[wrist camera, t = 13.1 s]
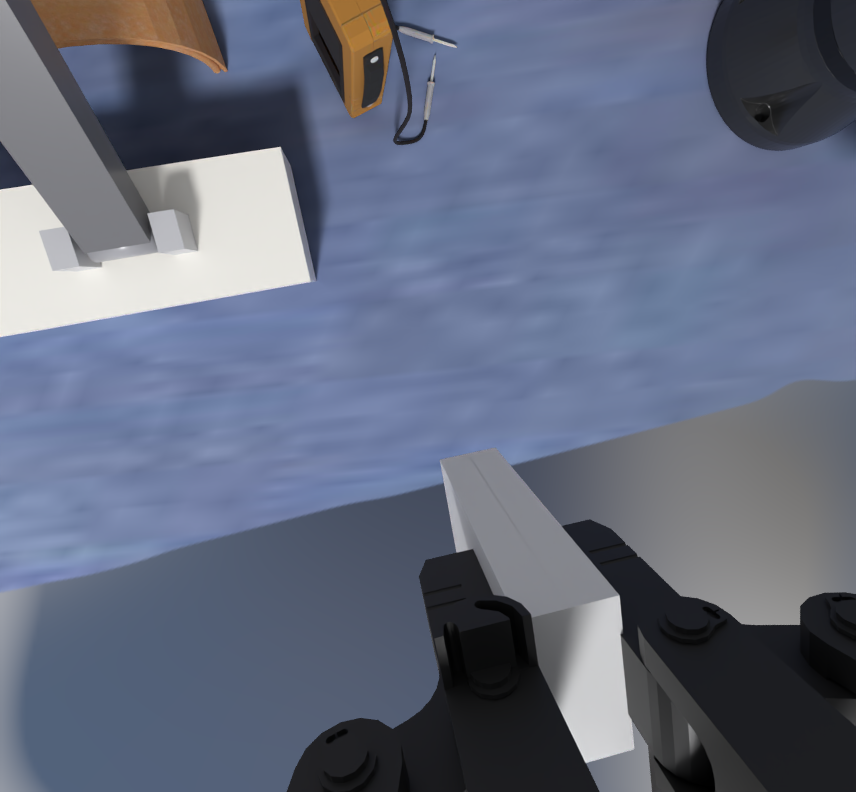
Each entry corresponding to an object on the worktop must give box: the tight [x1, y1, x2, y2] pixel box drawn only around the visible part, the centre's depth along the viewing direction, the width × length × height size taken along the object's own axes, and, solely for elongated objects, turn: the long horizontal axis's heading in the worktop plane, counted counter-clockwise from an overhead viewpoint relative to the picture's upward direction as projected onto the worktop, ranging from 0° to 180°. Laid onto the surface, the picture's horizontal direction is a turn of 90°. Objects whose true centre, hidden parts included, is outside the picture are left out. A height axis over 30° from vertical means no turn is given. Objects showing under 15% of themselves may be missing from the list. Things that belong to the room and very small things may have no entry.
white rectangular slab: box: [0, 147, 316, 337], centre depth 36 cm, size 22×9×9 cm, turn 100°
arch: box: [30, 0, 227, 73], centre depth 33 cm, size 6×20×10 cm, turn 106°
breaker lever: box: [0, 0, 158, 263], centre depth 26 cm, size 5×3×20 cm
